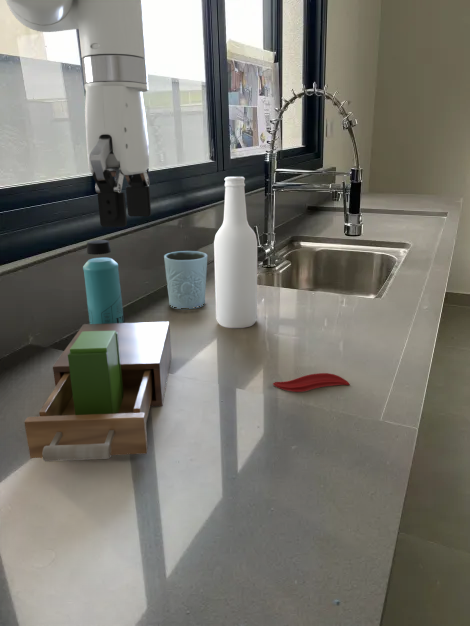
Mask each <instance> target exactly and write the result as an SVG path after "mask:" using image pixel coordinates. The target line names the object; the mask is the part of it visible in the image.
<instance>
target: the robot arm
mask: <svg viewBox="0 0 470 626" xmlns="http://www.w3.org/2000/svg"><path fill="white" fill-rule="evenodd" d="M5 2H6V4H7V6H8V8H9V10H10V12H11V14H12V15H13V17H14V18H15V19H16V20H17V21H18V22H19V23H20V24H22V25H23V26H25V27H26V28H28V29H31V30H33V31H36V32H42V33H54V32H55V33H56V32H63V31H72V30H78V36H79V37H78V38H79V47H80V56H81V65H82V76H83V85H84V86H83V87H84V91H85V98H84V99H85V102H84V103H85V104H84V106H85V107H84V116H85V117H84V121H85V122H84V123H85V124H84V125H85V143H86V156H87V157H86V158H87V166H88V171H89V173H91V175H92V179H93V180H94V182H95V185H94V186H95V187H94V188H95V192H96V194H97V203H98V204H97V205H98V213H99V214H98V215H99V223H100V226H101V227H103V228H125V227H126V226H127V225H128V217H127V215H128V216H129V217H150V216H151V215H152V204H151V193H150V192H151V191H150V178H149V173H150V171H149V170H150V169H149V167H150V148H149V136H148V127H147V117H146V108H145V103H144V95H143V93H146V92H148V91H149V82H148V81H149V80H148V79H149V78H148V67H147V66H148V65H147V52H146V51H147V49H146V36H145V35H146V33H145V20H144V18H145V17H144V3H143V0H5ZM124 179H125V180H126V182H127V185H128V186H125V192H122V189H123V183H124ZM125 194H126V195H125Z"/></svg>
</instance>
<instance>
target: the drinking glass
mask: <svg viewBox="0 0 470 626" xmlns="http://www.w3.org/2000/svg"><path fill="white" fill-rule="evenodd" d="M163 258H164V259H163V260H164V268H165V277H166V278H165V279H166V283H167V287H166V288H167V294H168V304H169V306H170V305H171V306H170V307H171V308H172V309H176V310H182V309H181V308H189V309H188V310H194V309H199V308H201V307H204V306H205V304H206V292H207V283H206V282H207V270H208V254H207V253H205V252H202V251H197V250H179V251H172V252H168V253H166V254H164V255H163ZM204 303H205V304H204ZM203 304H204V305H203ZM201 305H202V306H201ZM172 306H173V307H172ZM197 306H200V307H197ZM174 307H177V308H174ZM193 307H196V308H193Z"/></svg>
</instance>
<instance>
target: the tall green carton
mask: <svg viewBox="0 0 470 626" xmlns="http://www.w3.org/2000/svg"><path fill="white" fill-rule="evenodd" d="M68 362H69V369H70V377H71V385H72V393H73V400H74V408H75V415H92V414H118V412H119V409H120V406H121V404H122V399H123V396H124V394H123V383H122V373H121V362H120V351H119V341H118V332H116V331H84V332H82V333H81V334H80V336H79V337H78V338H77V340H76V341H75V343H74V344H73V345H72V347H71V348H70V353H69V354H68Z"/></svg>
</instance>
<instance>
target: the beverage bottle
mask: <svg viewBox="0 0 470 626" xmlns="http://www.w3.org/2000/svg"><path fill="white" fill-rule="evenodd" d="M111 252H112V249H111V245H110V241H109V240H107V239H94V240H90V241H87V242H86V254H87V255H92V256H93V255H95V256H96V255H106V254H110V253H111ZM82 270H83V277H84V284H85V293H86V306H87V310H86V311H87V314H88V315H87V318H88V324H109V323H126V321H125V318H124V306H123V305H124V303H123V298H122V288H121V282H120V271H119V264H118V262H117V261H115V259H113V258H111V257H94V258H90V259H88V260H87V261H86V262H85V263H84V265H83V266H82Z"/></svg>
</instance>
